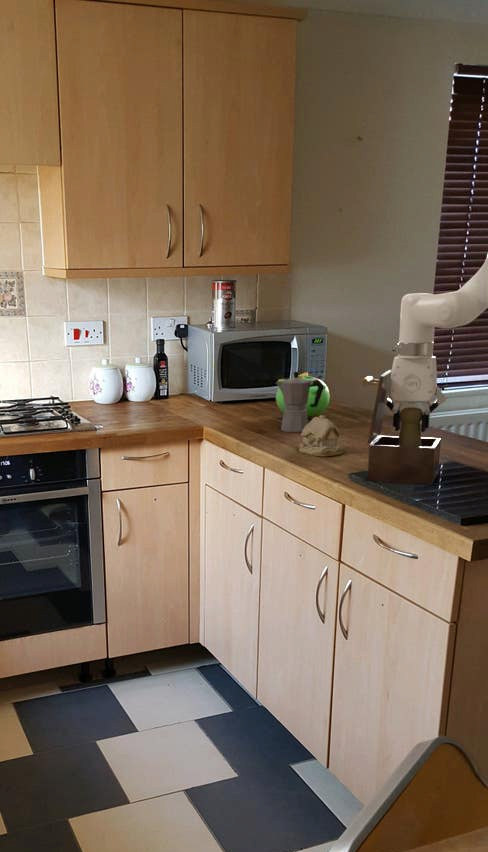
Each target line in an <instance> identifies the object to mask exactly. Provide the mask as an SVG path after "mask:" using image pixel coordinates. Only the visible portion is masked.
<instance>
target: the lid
mask: <svg viewBox="0 0 488 852" xmlns="http://www.w3.org/2000/svg"><path fill="white" fill-rule="evenodd" d="M391 372H392V369H389V370H387V371H385V372H384V373H382V374H381V375H379V379H377V378H374V377H373V376H372V375H368V376H365V377H364V378H362V379H361V380H360V386H362V387H368V386H372V387H373V386H374V387H377V390H376V395H375V402H374V407H373V412H372V417H371V422H370V423H371V424H370V428H369V434H368V439H367V444H371V443H372V442H373V441H374V440H375V439H376V438H377V437H378V436H379V435H380V434H382V429H383V423H384V418H385V412H386V407H387V405H386V404H385V403H383V397H384V392H385V391H386V389H387V388H388V387H389V386H390V380H391Z"/></svg>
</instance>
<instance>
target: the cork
mask: <svg viewBox="0 0 488 852" xmlns="http://www.w3.org/2000/svg"><path fill="white" fill-rule="evenodd" d="M423 414H424V410H422V408H420V407H415V406H408V407H407V406H406V407H403V408H401V409H400V419H401V424H400V429H399V435H398V437H399V440H398V445H397V446H413V447H422V444H421V438H422V431H421V422H422V415H423Z"/></svg>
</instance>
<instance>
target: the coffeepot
mask: <svg viewBox="0 0 488 852" xmlns="http://www.w3.org/2000/svg"><path fill="white" fill-rule="evenodd" d="M299 373H300V372H299V371H294V372H293V377H294V378H293V377H290V378H291V379H290V378H288V379H283V381H278V380H277V381H276V382H275V385H277V388H280V390H281V392H282V394H283V398H284V404H285V409H284V413H282V414H283V416H282V419H281V420H282V421H281V427H280V430H281V432H285V433H302V431H303V429H304V427H305V426H306V425H307V424H308V423H309V418H308V416H307V409H306V403H307V401H308V395H309V389H310V387H313V386H317V387H318V390H317V394H316V397H315V402H314V404H310V406H311V407H317V405H318V403H319V400H320V397H321V394H322V392H323V389H324V386H323V384H322V383H321V382H320V381H319V380H320V379H319V380H305V379H301V378H298V376H299V375H300V374H299Z"/></svg>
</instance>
